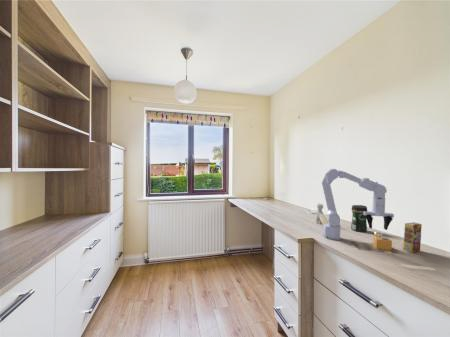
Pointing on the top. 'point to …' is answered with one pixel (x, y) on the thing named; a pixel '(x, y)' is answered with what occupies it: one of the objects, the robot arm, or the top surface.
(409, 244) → the candy box
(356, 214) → the coffee jar
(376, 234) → the stepped metal cylinder
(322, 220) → the hammer
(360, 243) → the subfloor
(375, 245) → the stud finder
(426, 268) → the top surface
